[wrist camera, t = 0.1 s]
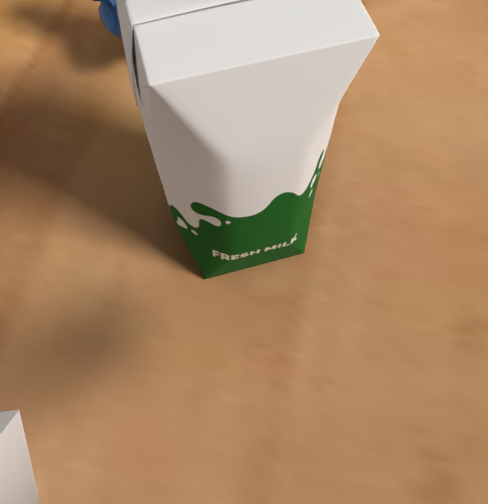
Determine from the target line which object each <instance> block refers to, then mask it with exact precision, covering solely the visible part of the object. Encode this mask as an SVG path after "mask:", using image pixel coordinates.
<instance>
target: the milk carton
mask: <svg viewBox="0 0 488 504" xmlns="http://www.w3.org/2000/svg"><path fill="white" fill-rule="evenodd" d="M116 3H117V11H118V17H119V23H120V28H121V34H122V40H123V45H124V50H125V56H126V61H127V66H128V71H129V77H130V81H131V86H132V90H133V94H134V98H135V103H136V106H138V102H137V97H136V91H137V96H138V101H139V106H140V110H141V114H142V119H143V123H144V127H145V131H146V134H147V137H148V140H149V144H150V147H151V150H152V153H153V156H154V160H155V163H156V166H157V169H158V173H159V176H160V179H161V182H162V185H163V188H164V192H165V195H166V198H167V201H168V204H169V207H170V209H171V212H172V214H173V217H174V219H175V222H176V224H177V226H178V228H179V230H180V232H181V234H182V236H183V238H184V240H185V241H186V243H187V245H188V247H189V249H190V251H191V253H192V255H193V257H194V259H195V261H196V263H197V265H198V267H199V269H200V271H201V273H202V275H203V277H204V279H208V278H211V277H215V276H219V275H223V274H226V273H230V272H234V271H238V270H242V269H245V268H249V267H253V266H257V265H260V264H264V263H268V262H272V261H275V260H279V259H283V258H287V257H291V256H294V255H298V254H302V253H304V250H305V244H306V239H307V233H308V228H309V223H310V217H311V212H312V207H313V201H314V196H315V192H316V188H317V184H318V180H319V176H320V173H321V169H322V165H323V161H324V158H325V154H326V150H327V146H328V143H329V139H330V135H331V131H332V128H333V124H334V120H335V116H336V113H337V109H338V105H339V101H340V100H341V98H342V96H343V95H344V93H345V91H346V90H347V88H348V87H349V85H350V83H351V82H352V80H353V78H354V77H355V75H356V73H357V72H358V70H359V68H360V67H361V65H362V63H363V62H364V60H365V59H366V57H367V55H368V54H369V52H370V50H371V49H372V47H373V45H374V44H375V42H376V41H377V39H378V37H379V33H378V31H377V29H376V27H375V25H374V23H373V22H372V20H371V18H370V16H369V15H368V13H367V11H366V9H365V7H364V6H363V4H362V2H361V0H116ZM133 74H134V76H133ZM134 80H135V85H134ZM135 86H136V91H135Z"/></svg>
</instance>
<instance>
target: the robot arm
mask: <svg viewBox="0 0 488 504" xmlns="http://www.w3.org/2000/svg"><path fill="white" fill-rule="evenodd" d="M39 502H40V500H39V496H38V491H37V487H36V483H35V478H34V474H33V469H32V465H31V460H30V456H29V451H28V447H27V443H26V438H25V434H24V429H23V425H22V420H21V416H20V411H19V410H14V411H5V412H0V504H39Z"/></svg>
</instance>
